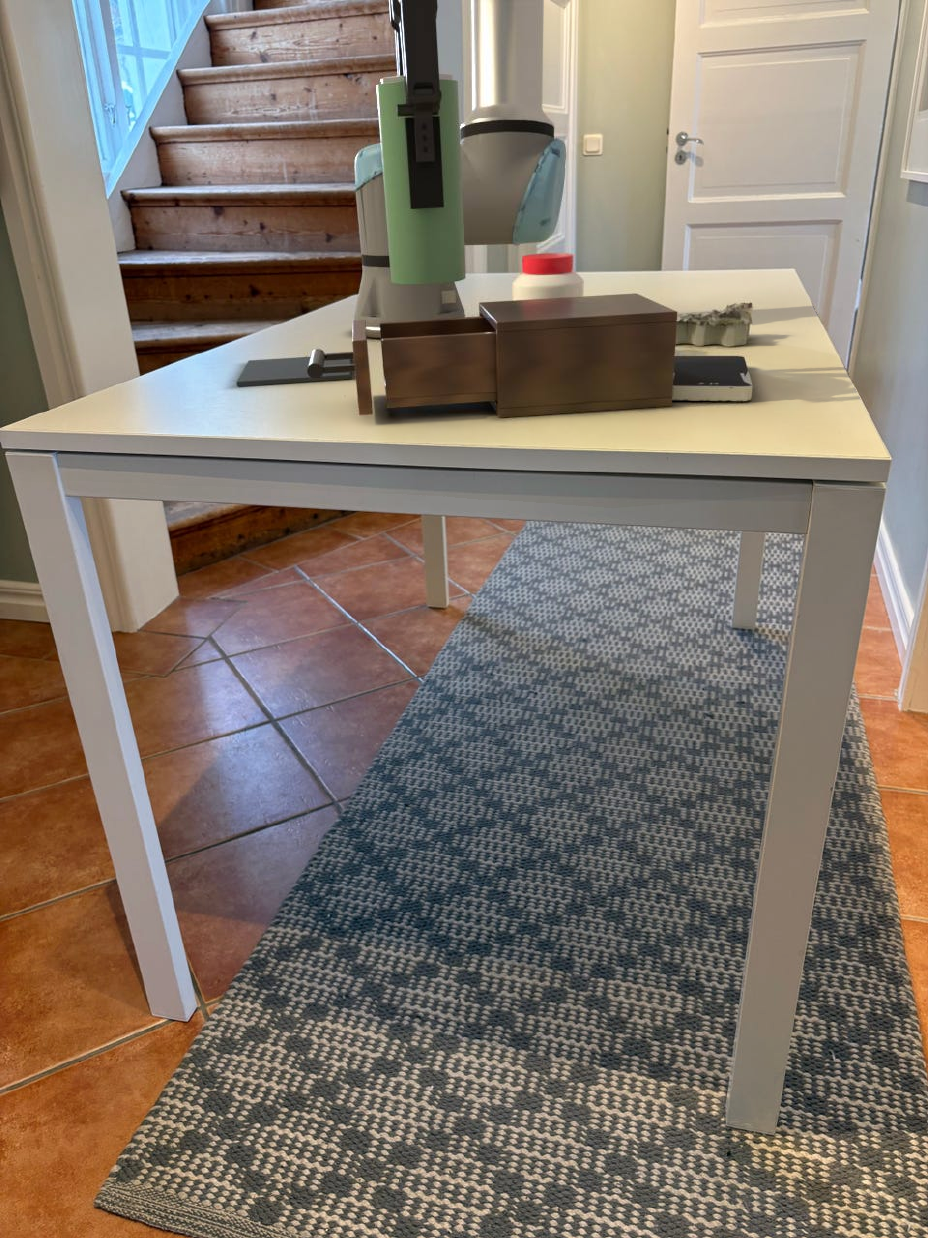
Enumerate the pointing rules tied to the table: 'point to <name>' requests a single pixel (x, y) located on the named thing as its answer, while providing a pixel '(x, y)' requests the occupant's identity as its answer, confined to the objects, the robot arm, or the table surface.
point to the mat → (285, 371)
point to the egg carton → (716, 326)
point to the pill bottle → (547, 277)
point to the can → (416, 237)
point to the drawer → (422, 362)
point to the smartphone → (711, 378)
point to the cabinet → (582, 354)
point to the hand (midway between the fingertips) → (424, 205)
